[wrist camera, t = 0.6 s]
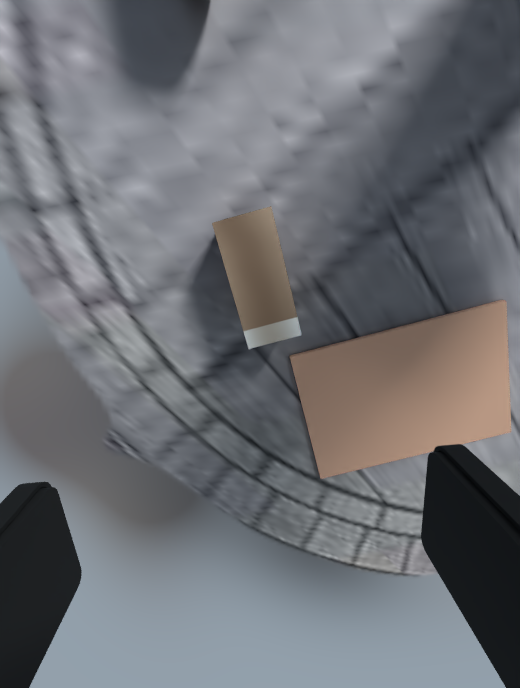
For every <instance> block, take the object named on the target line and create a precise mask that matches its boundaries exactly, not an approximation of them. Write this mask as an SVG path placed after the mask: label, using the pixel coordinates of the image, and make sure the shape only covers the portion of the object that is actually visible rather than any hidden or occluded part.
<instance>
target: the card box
mask: <svg viewBox="0 0 520 688" xmlns="http://www.w3.org/2000/svg"><path fill="white" fill-rule="evenodd" d="M212 225H213V228H214V232H215V235H216V238H217V242H218V245H219V249H220V252H221V256H222V259H223V262H224V266H225V269H226V273H227V276H228V280H229V283H230V287H231V290H232V293H233V297H234V300H235V304H236V307H237V311H238V314H239V317H240V321H241V324H242V328H243V331H244V335H245V338H246V341H247V345H248V348H249V349H251V348H255V347H259V346H263V345H266V344H270V343H274V342H278V341H282V340H285V339H289V338H293V337H297V336H300V335H301V330H300V326H299V322H298V318H297V313H296V309H295V305H294V301H293V297H292V292H291V288H290V284H289V280H288V275H287V271H286V267H285V263H284V258H283V254H282V250H281V246H280V242H279V237H278V233H277V229H276V225H275V220H274V216H273V212H272V208H271V206H270V207H267V208H263V209H260V210H256V211H253V212H249V213H246V214H242V215H239V216H235V217H232V218H228V219H224V220H221V221H217V222H214V223H212Z"/></svg>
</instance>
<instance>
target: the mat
mask: <svg viewBox="0 0 520 688" xmlns="http://www.w3.org/2000/svg"><path fill="white" fill-rule="evenodd" d="M290 360H291V364H292V368H293V372H294V376H295V380H296V384H297V388H298V392H299V396H300V400H301V404H302V408H303V411H304V415H305V419H306V423H307V427H308V431H309V435H310V439H311V443H312V447H313V451H314V455H315V459H316V463H317V467H318V471H319V475H320V478H321V479H323V478H327V477H331V476H335V475H339V474H343V473H347V472H351V471H355V470H359V469H363V468H367V467H371V466H376V465H380V464H384V463H388V462H392V461H396V460H400V459H404V458H408V457H412V456H416V455H420V454H424V453H428V452H432V451H434V449H435V447H437V446H442V445H453V444H465V443H469V442H473V441H477V440H481V439H485V438H489V437H493V436H497V435H501V434H505V433H510V432H511V413H510V386H509V360H508V334H507V307H506V300H499V301H495V302H491V303H488V304H484V305H480V306H476V307H472V308H469V309H465V310H461V311H457V312H453V313H450V314H446V315H442V316H438V317H434V318H431V319H427V320H423V321H419V322H415V323H412V324H408V325H404V326H400V327H396V328H393V329H389V330H385V331H381V332H377V333H374V334H370V335H366V336H362V337H358V338H355V339H351V340H347V341H343V342H339V343H336V344H332V345H328V346H324V347H320V348H317V349H313V350H309V351H305V352H301V353H297V354H294V355H290Z"/></svg>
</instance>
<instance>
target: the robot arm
mask: <svg viewBox="0 0 520 688" xmlns="http://www.w3.org/2000/svg"><path fill="white" fill-rule="evenodd" d="M421 539H422V543H423V547H424V549H425V551H426V553H427V555H428V557H429V558H430V560H431V562H432V563H433V565H434V567H435V568H436V570H437V572H438V574H439V575H440V577H441V579H442V580H443V582H444V584H445V585H446V587H447V589H448V590H449V592H450V593H451V595H452V597H453V599H454V601H455V602H456V604H457V606H458V607H459V609H460V610H461V612H462V614H463V616H464V617H465V619H466V621H467V622H468V624H469V626H470V627H471V629H472V631H473V632H474V634H475V636H476V638H477V639H478V641H479V643H480V644H481V646H482V648H483V649H484V651H485V653H486V655H487V656H488V658H489V660H490V661H491V663H492V664H493V666H494V668H495V670H496V671H497V673H498V674H499V676H500V678H501V680H502V681H503V683H504V685H505V687H506V688H520V496H519V495H518V494H517V493H516V492H515V491H513V490H512V489H511V488H510V487H509V486H508V485H507V484H506V483H505V482H504V481H502V480H501V479H500V478H499V477H498V476H497V475H496V474H495V473H494V472H492V471H491V470H490V469H489V468H488V467H487V466H486V465H485V464H484V463H483V462H481V461H480V460H479V459H478V458H477V457H476V456H475V455H474V454H473V453H472V452H470V451H469V450H468V449H467V448H466V447H465V446H463V445H461V444H453V445H442V446H437V447H435V449H434V452H432V453H430V454H429V455H428V463H427V474H426V486H425V497H424V509H423V520H422V532H421ZM80 580H81V567H80V563H79V560H78V556H77V553H76V550H75V547H74V544H73V540H72V537H71V533H70V530H69V527H68V524H67V520H66V517H65V514H64V510H63V507H62V504H61V501H60V497H59V494H58V491H57V489H56V488H53V487H51V485H50V484H49V483H48V482H37V483H26V484H21V485H18V486H17V487H16V488H15V489H14V490H13V491H12V492H11V493H10V494H9V495H8V496H7V497H6V498H5V499H4V500H3V501H2V502H1V503H0V688H29V687H30V684H31V682H32V680H33V678H34V676H35V674H36V672H37V670H38V668H39V666H40V664H41V662H42V660H43V658H44V656H45V654H46V652H47V649H48V648H49V646H50V644H51V642H52V640H53V637H54V635H55V633H56V631H57V629H58V627H59V625H60V623H61V621H62V619H63V617H64V615H65V613H66V611H67V609H68V607H69V605H70V603H71V601H72V599H73V597H74V595H75V592H76V590H77V588H78V586H79V584H80Z"/></svg>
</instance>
